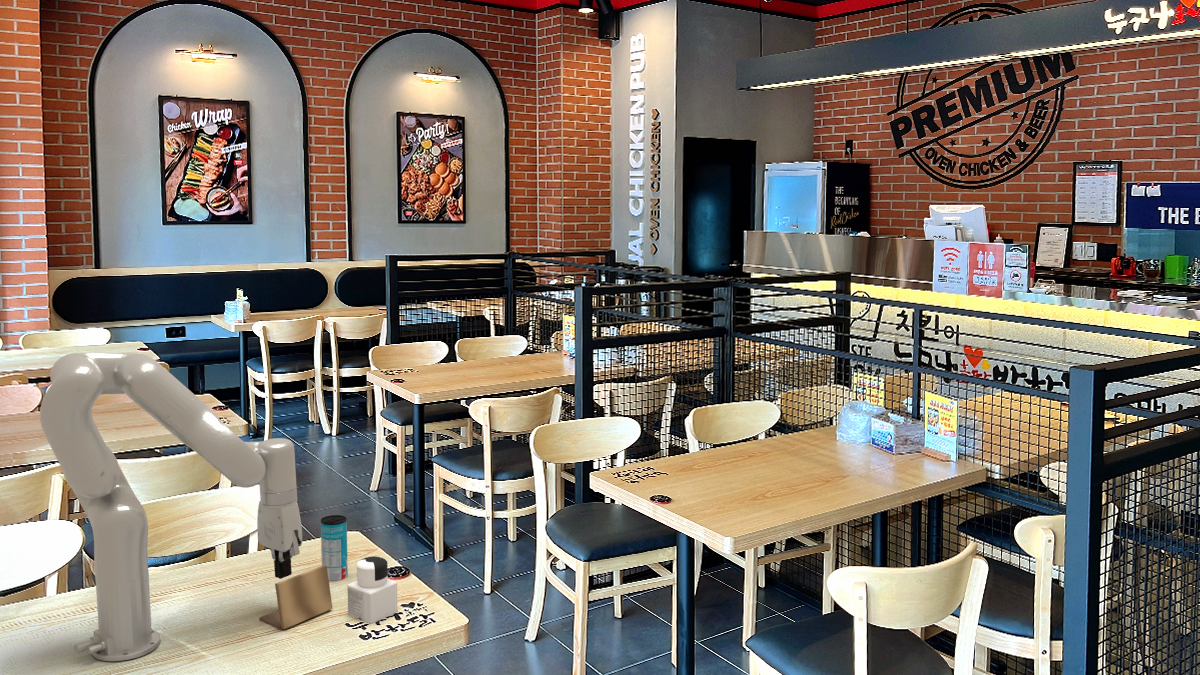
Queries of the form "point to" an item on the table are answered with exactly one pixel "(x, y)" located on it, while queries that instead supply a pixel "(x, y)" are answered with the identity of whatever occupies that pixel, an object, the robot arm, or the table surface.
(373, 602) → the container
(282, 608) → the oak plank
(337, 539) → the beverage can
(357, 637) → the table surface
